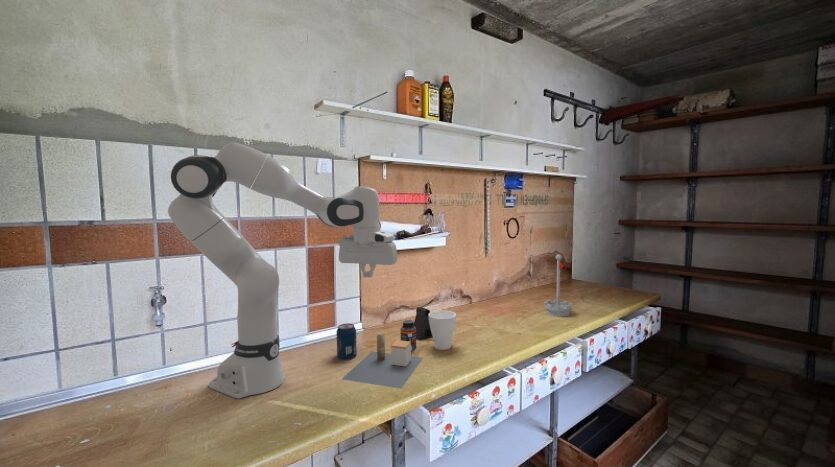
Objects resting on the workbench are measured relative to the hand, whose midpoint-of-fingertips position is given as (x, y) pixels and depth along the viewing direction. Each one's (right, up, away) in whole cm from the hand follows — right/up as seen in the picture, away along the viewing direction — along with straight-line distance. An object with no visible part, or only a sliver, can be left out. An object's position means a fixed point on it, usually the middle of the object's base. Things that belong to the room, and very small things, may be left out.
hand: (367, 277), depth 119 cm
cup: (+26, -30, +17) cm, 43 cm away
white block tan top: (+11, -30, +3) cm, 32 cm away
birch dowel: (+4, -30, +6) cm, 31 cm away
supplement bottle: (+13, -30, +16) cm, 37 cm away
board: (+6, -31, 0) cm, 32 cm away
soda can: (-9, -31, +10) cm, 33 cm away
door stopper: (+19, -29, +31) cm, 46 cm away
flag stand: (+87, -26, +60) cm, 109 cm away
